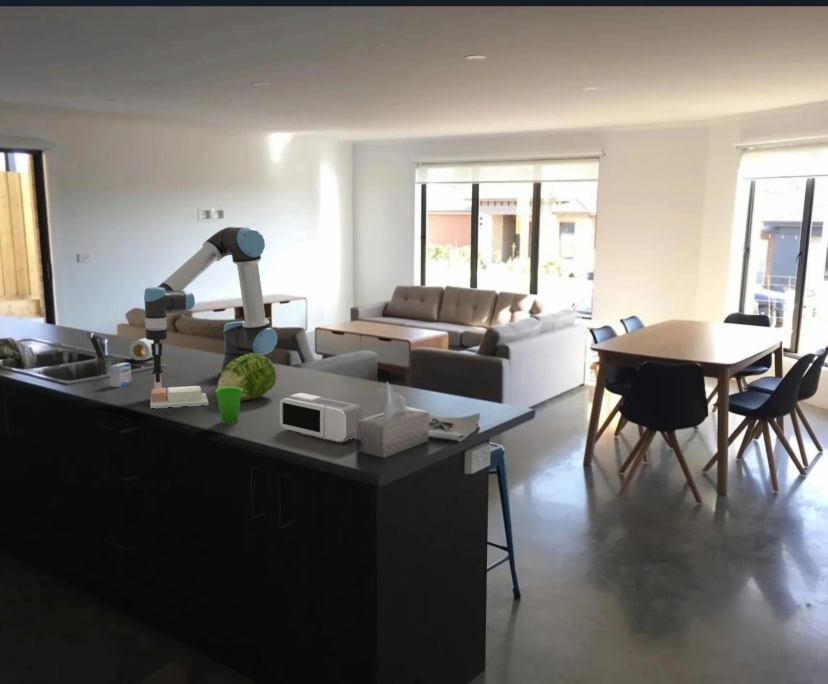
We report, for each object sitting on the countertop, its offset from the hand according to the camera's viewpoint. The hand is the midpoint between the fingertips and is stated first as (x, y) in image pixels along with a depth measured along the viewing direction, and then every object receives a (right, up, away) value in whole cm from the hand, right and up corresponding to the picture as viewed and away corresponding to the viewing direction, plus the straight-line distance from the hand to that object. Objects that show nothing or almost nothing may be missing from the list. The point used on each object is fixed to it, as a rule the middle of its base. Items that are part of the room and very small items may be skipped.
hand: (158, 389), depth 279 cm
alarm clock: (+67, -12, -44) cm, 81 cm away
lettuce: (+33, -4, 0) cm, 34 cm away
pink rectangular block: (+3, -3, -7) cm, 8 cm away
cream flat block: (+11, -2, -4) cm, 12 cm away
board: (+10, -4, -7) cm, 13 cm away
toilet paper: (-32, +10, +74) cm, 81 cm away
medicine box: (-22, +1, +19) cm, 28 cm away
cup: (+35, -9, -31) cm, 48 cm away
